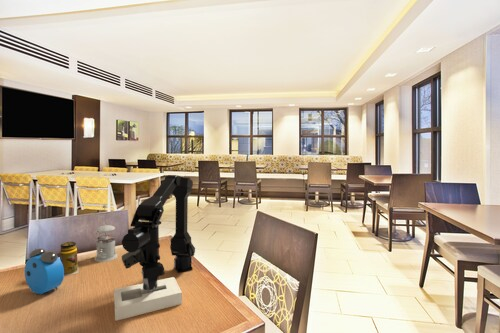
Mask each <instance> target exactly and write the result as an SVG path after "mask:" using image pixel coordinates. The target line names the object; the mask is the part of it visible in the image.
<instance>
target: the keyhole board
mask: <svg viewBox="0 0 500 333" xmlns="http://www.w3.org/2000/svg"><path fill="white" fill-rule="evenodd" d="M113 296H114V297H113V299H114V300H113V301H114V303H113V304H114V321H116V322H117V321H122V320H124V319H128V318H132V317H136V316H139V315H143V314H149V313H151V312H155V311H159V310H163V309H167V308H171V307H175V306H178V305H182V304H183V292H182V290H181V288H180V286H179V284H178V282H177V280H176V278H175V277H174V276H172V277H168V278H161V279H158V280H157V287H156V288H155V289H153V292H150V293H147V290H144V289H143V282H142V283H138V284H133V285H129V286H128V285H127V286H123V287H118V288H114V289H113Z"/></svg>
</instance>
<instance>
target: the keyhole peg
mask: <svg viewBox="0 0 500 333" xmlns="http://www.w3.org/2000/svg"><path fill="white" fill-rule="evenodd" d="M142 283H143V289H144V290H147V293H150V292H153V289H152V290H150V289H149V284H148V280H147V278H146V279H144V278H143V277H142ZM156 287H157V282H156V284H155V286H154V289H155V288H156Z"/></svg>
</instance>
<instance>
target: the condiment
mask: <svg viewBox="0 0 500 333" xmlns="http://www.w3.org/2000/svg"><path fill="white" fill-rule="evenodd" d="M59 259H60V260H61V262H62V265H63V268H64V276H70V275H76V274H79V273H80V271H79V270H80V267H79V265H78V263H79V262H78V249H77V243H76V242H75V241H65V242H63V243H61V244H60V250H59Z"/></svg>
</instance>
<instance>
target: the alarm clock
mask: <svg viewBox="0 0 500 333" xmlns="http://www.w3.org/2000/svg"><path fill="white" fill-rule="evenodd" d="M24 279H25V281H26V284H27V287H28V288H29V290H31V292H33V294H35V295H36V294H37V295H43V294H45V293H47V292H49V291H51V290H54V289H55V290H56V291H58V289H59V288H58V287H60V286H61V285H62V283H63V281H64V268H63V265H62V262H61V260H60V256H58V254H57V252H56V251H53V250H48V251H46V249H44V248H41V247H40V248H34V249H33V250H32V251H30V253H29V254H28V260H27V261H26V263H25V267H24Z"/></svg>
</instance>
